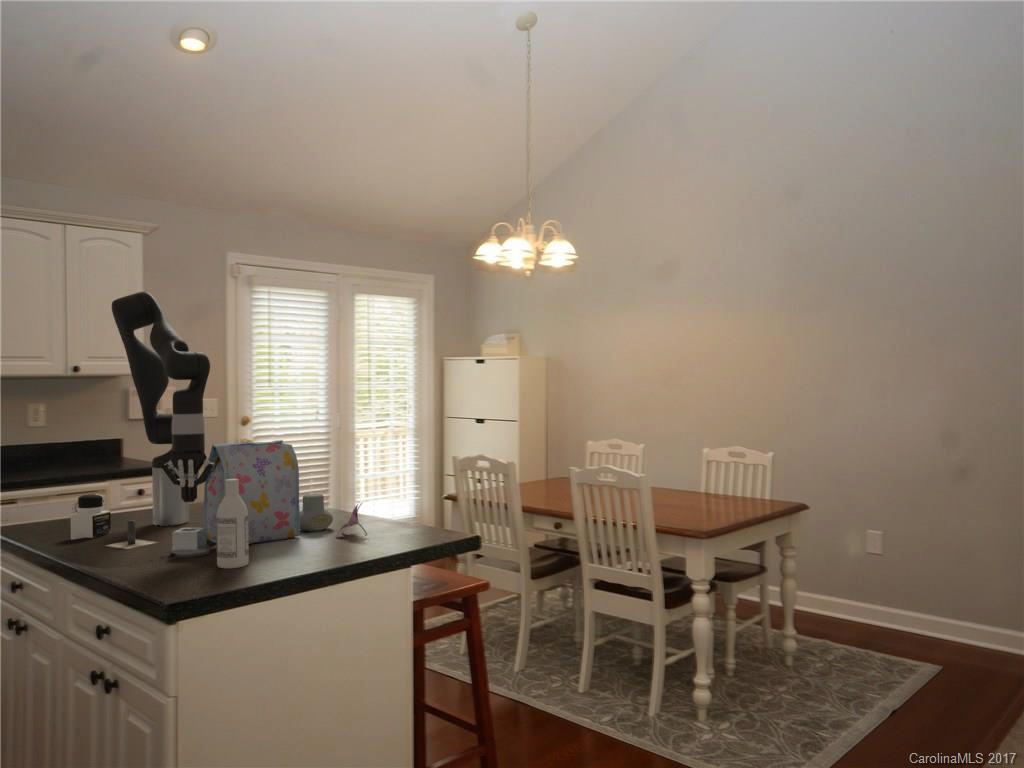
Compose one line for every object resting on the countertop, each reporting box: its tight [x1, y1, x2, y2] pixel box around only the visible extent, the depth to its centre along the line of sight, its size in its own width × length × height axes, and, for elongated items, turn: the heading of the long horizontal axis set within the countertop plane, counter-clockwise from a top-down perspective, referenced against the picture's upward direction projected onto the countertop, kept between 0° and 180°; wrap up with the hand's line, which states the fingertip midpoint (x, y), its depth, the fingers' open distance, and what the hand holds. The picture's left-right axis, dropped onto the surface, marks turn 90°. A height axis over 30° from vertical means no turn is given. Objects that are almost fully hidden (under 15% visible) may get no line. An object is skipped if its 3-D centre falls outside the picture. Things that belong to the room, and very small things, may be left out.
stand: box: [104, 519, 159, 550], centre depth 208 cm, size 9×9×7 cm
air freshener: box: [300, 493, 334, 533], centre depth 230 cm, size 11×8×10 cm
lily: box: [335, 501, 368, 538], centre depth 222 cm, size 12×12×10 cm
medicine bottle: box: [70, 493, 112, 541], centre depth 221 cm, size 7×7×12 cm
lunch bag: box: [203, 439, 301, 544], centre depth 217 cm, size 22×17×26 cm
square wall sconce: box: [171, 526, 207, 551], centre depth 199 cm, size 6×6×4 cm
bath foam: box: [216, 479, 250, 570], centre depth 186 cm, size 7×7×20 cm
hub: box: [169, 544, 210, 559], centre depth 200 cm, size 9×9×5 cm
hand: (189, 501), depth 199 cm, fingers closed
